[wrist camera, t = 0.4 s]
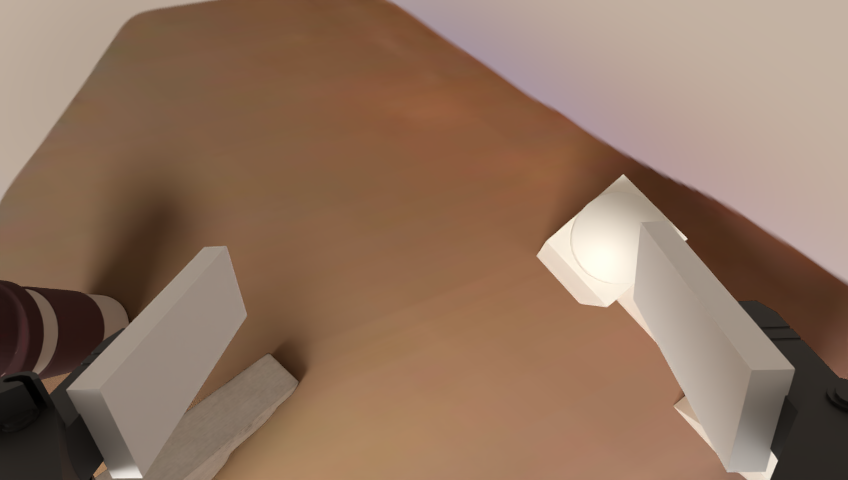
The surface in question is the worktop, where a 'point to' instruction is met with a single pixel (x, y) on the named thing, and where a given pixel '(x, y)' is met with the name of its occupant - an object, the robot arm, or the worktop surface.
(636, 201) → the white blocky piece
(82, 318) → the coffee cup
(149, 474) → the letter a
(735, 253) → the worktop surface
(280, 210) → the worktop surface
